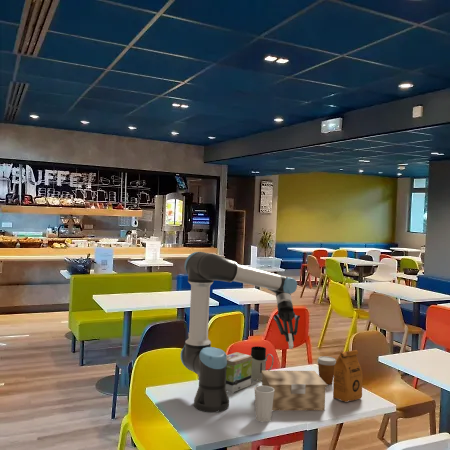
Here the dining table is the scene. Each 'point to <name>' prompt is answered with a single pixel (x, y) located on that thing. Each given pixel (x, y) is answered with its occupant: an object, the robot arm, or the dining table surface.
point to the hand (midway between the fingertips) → (291, 347)
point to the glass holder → (259, 362)
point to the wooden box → (297, 399)
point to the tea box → (238, 371)
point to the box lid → (293, 380)
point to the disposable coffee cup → (326, 368)
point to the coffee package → (347, 377)
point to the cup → (264, 403)
